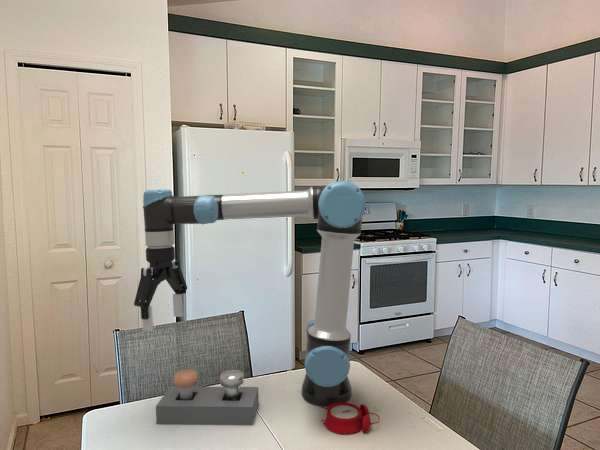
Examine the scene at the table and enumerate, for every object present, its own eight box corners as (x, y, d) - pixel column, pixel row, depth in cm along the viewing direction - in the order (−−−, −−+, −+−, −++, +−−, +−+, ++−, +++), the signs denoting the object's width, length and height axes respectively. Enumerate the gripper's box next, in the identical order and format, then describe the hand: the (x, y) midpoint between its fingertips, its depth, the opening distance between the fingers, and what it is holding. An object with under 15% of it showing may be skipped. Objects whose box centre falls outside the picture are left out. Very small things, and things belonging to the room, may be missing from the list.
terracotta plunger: (200, 394, 129) (199, 369, 128) (194, 405, 122) (193, 378, 122) (178, 394, 129) (177, 369, 129) (171, 404, 123) (170, 378, 122)
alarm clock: (320, 402, 125) (373, 391, 124) (325, 423, 125) (378, 412, 124) (319, 421, 114) (377, 409, 113) (325, 444, 115) (383, 433, 114)
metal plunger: (245, 394, 128) (245, 369, 128) (241, 405, 122) (241, 379, 121) (223, 394, 129) (222, 369, 128) (218, 405, 122) (217, 378, 122)
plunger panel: (258, 403, 131) (258, 387, 131) (252, 425, 119) (252, 406, 119) (171, 402, 132) (170, 386, 132) (156, 424, 120) (155, 406, 120)
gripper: (175, 240, 134) (178, 310, 136) (116, 252, 111) (120, 336, 113) (197, 241, 132) (200, 311, 134) (141, 253, 109) (145, 338, 110)
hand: (164, 323), depth 123 cm, fingers open, 13 cm apart
